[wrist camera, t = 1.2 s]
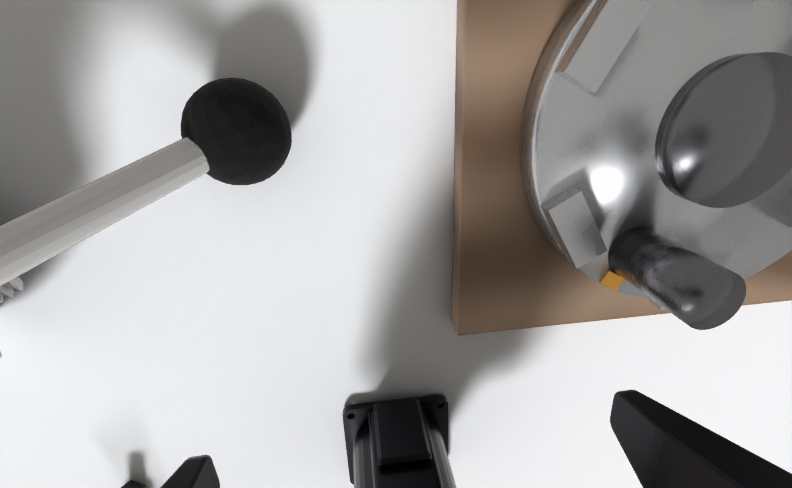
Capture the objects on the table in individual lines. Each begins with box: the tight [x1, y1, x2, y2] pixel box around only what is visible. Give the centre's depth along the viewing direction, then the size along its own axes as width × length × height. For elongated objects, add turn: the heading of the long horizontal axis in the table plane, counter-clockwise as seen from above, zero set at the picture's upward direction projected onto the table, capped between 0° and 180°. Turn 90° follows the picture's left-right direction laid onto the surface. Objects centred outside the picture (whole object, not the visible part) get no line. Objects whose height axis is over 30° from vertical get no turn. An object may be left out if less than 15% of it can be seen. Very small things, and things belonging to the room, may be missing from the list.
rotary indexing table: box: [520, 0, 792, 330], centre depth 16 cm, size 16×16×6 cm
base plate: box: [451, 0, 792, 335], centre depth 20 cm, size 21×21×2 cm
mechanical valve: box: [0, 78, 292, 358], centre depth 16 cm, size 10×18×15 cm
